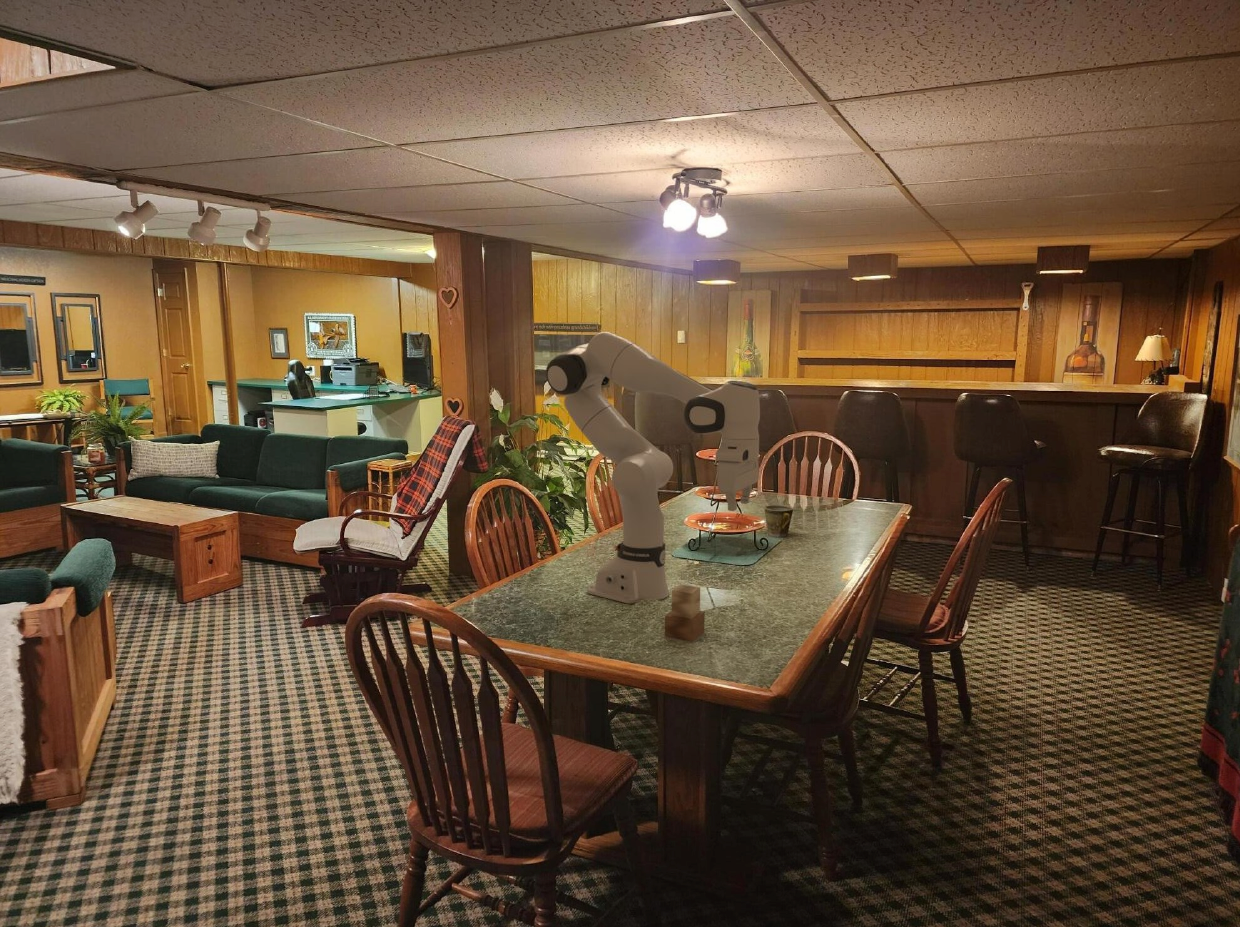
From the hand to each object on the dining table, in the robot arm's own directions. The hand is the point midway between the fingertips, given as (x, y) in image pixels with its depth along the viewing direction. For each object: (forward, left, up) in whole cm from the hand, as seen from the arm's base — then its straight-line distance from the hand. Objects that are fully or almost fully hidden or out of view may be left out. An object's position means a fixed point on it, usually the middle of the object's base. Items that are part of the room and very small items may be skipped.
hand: (738, 506), depth 193 cm
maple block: (-7, -16, -23) cm, 29 cm away
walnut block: (-7, -16, -28) cm, 33 cm away
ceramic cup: (-15, +92, -29) cm, 98 cm away
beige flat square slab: (-7, -16, -29) cm, 34 cm away
